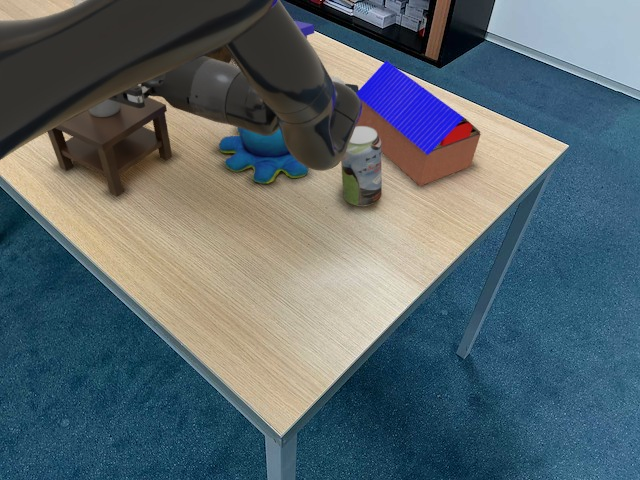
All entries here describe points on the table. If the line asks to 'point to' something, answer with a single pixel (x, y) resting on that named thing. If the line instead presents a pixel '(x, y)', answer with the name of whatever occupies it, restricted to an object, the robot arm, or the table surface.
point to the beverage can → (362, 167)
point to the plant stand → (112, 140)
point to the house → (416, 126)
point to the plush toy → (261, 156)
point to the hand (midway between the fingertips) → (110, 56)
